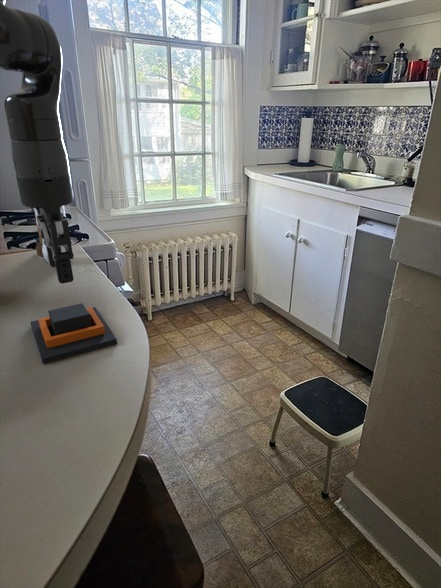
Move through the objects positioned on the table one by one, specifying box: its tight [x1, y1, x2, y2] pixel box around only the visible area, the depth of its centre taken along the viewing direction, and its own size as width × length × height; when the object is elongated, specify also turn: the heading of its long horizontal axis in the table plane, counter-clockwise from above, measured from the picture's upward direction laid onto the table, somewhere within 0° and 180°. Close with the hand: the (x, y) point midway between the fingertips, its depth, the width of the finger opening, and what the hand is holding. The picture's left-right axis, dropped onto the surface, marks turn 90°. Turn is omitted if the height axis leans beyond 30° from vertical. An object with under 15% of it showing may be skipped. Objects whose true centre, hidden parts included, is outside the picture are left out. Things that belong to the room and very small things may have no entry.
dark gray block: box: [48, 302, 92, 336], centre depth 69 cm, size 6×5×4 cm
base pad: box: [30, 306, 118, 365], centre depth 70 cm, size 12×14×2 cm
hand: (61, 273), depth 65 cm, fingers open, 7 cm apart
